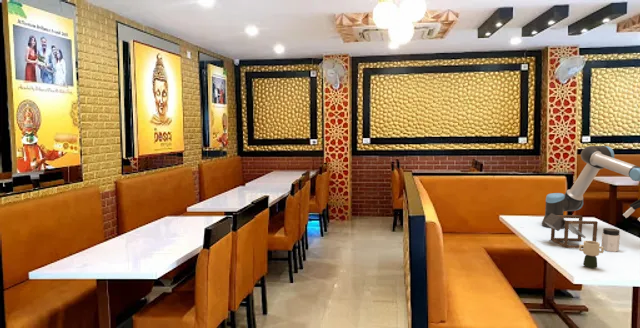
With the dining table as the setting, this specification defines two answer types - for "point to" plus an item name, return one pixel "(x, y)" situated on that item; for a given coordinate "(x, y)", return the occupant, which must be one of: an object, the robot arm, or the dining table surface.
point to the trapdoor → (560, 224)
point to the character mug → (591, 253)
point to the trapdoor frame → (580, 222)
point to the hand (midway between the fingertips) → (631, 218)
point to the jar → (610, 239)
